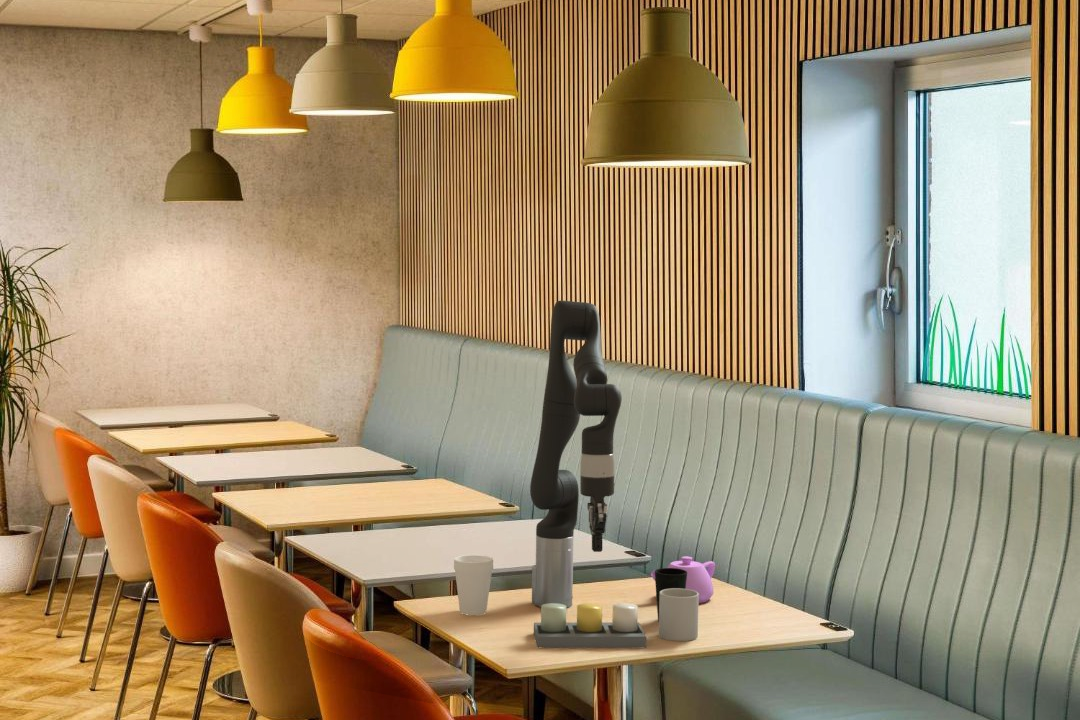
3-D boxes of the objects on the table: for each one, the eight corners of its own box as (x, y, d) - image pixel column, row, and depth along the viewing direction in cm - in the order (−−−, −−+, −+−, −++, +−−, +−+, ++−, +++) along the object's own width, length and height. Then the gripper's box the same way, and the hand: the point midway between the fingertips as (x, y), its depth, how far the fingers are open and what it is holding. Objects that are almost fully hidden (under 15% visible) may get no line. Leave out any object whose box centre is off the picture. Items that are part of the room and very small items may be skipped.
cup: (684, 626, 319) (685, 575, 318) (651, 624, 320) (652, 573, 320) (687, 618, 326) (688, 568, 326) (655, 616, 328) (656, 567, 327)
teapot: (635, 597, 347) (636, 556, 346) (696, 589, 358) (697, 548, 357) (668, 609, 335) (669, 566, 335) (731, 600, 346) (732, 558, 345)
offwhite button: (613, 631, 303) (614, 609, 303) (610, 625, 308) (611, 603, 308) (639, 631, 303) (639, 609, 303) (635, 625, 309) (636, 603, 309)
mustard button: (577, 631, 302) (578, 609, 302) (575, 625, 308) (575, 603, 308) (603, 631, 303) (603, 609, 302) (600, 625, 308) (600, 603, 308)
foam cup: (483, 618, 323) (484, 564, 322) (447, 615, 326) (448, 561, 325) (497, 609, 332) (498, 556, 331) (462, 606, 335) (463, 553, 334)
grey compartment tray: (537, 647, 299) (537, 636, 299) (533, 633, 311) (533, 622, 311) (646, 647, 300) (646, 636, 300) (638, 633, 312) (638, 622, 312)
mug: (670, 642, 305) (671, 598, 304) (650, 632, 313) (651, 589, 313) (712, 638, 309) (713, 594, 308) (691, 628, 318) (692, 585, 317)
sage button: (541, 631, 302) (542, 609, 302) (540, 625, 307) (540, 603, 307) (567, 631, 302) (567, 609, 302) (564, 625, 308) (565, 603, 308)
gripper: (618, 477, 298) (618, 556, 299) (609, 469, 311) (609, 545, 312) (584, 477, 297) (584, 557, 298) (576, 470, 310) (576, 546, 311)
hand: (597, 551), depth 305 cm, fingers closed
